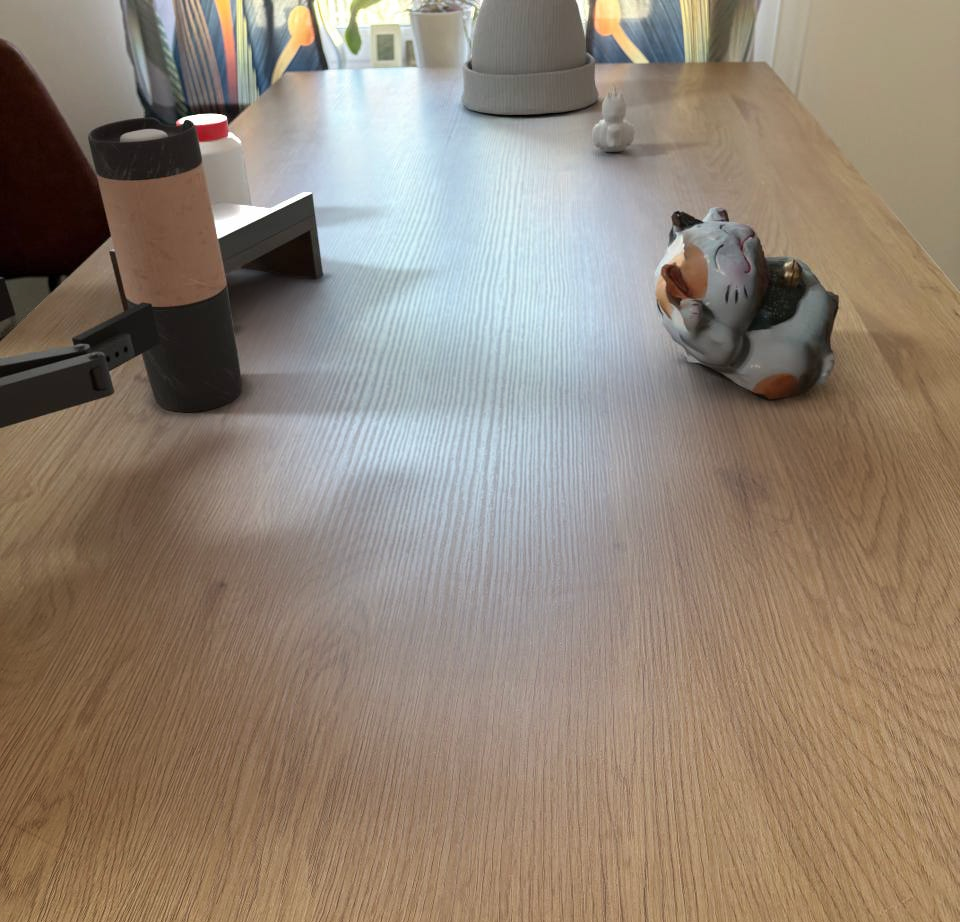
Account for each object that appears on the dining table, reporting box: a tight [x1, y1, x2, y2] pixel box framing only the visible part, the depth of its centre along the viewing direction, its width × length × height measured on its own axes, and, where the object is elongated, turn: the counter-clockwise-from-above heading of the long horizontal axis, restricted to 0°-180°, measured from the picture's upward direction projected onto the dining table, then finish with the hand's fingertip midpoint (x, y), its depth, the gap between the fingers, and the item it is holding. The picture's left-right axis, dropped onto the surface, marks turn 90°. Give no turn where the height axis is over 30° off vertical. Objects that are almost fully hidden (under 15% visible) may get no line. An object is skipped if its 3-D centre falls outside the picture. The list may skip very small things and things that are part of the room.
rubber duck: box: [591, 83, 635, 153], centre depth 139 cm, size 5×7×8 cm
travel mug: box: [87, 117, 243, 413], centre depth 82 cm, size 8×8×20 cm
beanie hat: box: [460, 0, 599, 116], centre depth 163 cm, size 21×21×20 cm
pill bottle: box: [175, 113, 253, 206], centre depth 120 cm, size 8×8×11 cm
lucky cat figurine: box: [653, 206, 840, 401], centre depth 84 cm, size 15×12×14 cm
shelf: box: [108, 191, 324, 312], centre depth 103 cm, size 12×16×8 cm
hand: (76, 308), depth 74 cm, fingers open, 13 cm apart
